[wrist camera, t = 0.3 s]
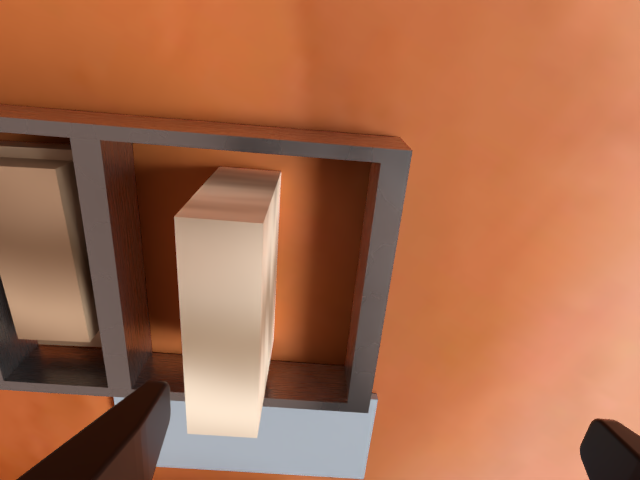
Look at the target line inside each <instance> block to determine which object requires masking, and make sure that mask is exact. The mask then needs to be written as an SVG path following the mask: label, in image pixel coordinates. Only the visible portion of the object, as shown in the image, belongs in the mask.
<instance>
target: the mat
mask: <svg viewBox="0 0 640 480" xmlns="http://www.w3.org/2000/svg"><path fill="white" fill-rule="evenodd" d="M123 399H124V397H114V404H115V405H116V404H117V403H119V402H120V401H121V400H123ZM377 401H378V398H377V394H374V393H372V394H371V400H370V406H369V412H368V413H356V412H340V411H325V410H309V409H294V408H279V407H263V406H262V412H261V418H260V424H259V430H258V436H257V438H247V437H231V436H215V435H198V434H187V420H186V404H185V401H170V404H171V416H170V422H169V426H168V429H167V432H166V435H165V439H164V442H163V445H162V448H161V452H160V455H159V458H158V461H157V465H156V467H171V468H188V469H205V470H221V471H238V472H254V473H271V474H288V475H304V476H321V477H337V478H354V479H364V475H365V469H366V463H367V458H368V452H369V446H370V441H371V435H372V429H373V424H374V418H375V412H376V407H377Z"/></svg>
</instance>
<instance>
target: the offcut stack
mask: <svg viewBox="0 0 640 480" xmlns="http://www.w3.org/2000/svg"><path fill="white" fill-rule="evenodd" d="M0 276H1V279H2V283H3V287H4V290H5V294H6V297H7V301H8V304H9V308H10V311H11V315H12V318H13V322H14V326H15V329H16V333H17V336H18V339H29V340H38V344H42V345H64V346H86V347H102V344H101V337H100V331H99V324H98V318H97V311H96V305H95V298H94V292H93V285H92V279H91V272H90V266H89V259H88V253H87V246H86V240H85V233H84V227H83V220H82V214H81V207H80V201H79V194H78V188H77V181H76V175H75V168H74V162H73V155H72V149H71V144H58V143H40V142H22V141H0Z"/></svg>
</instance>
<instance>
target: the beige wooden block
mask: <svg viewBox="0 0 640 480" xmlns="http://www.w3.org/2000/svg"><path fill="white" fill-rule="evenodd" d="M280 186H281V171H270V170H258V169H245V168H232V167H220V166H219V167H218V169H217V170H216V171H215V172H214V173H213V174H212V175H211V176H210V177H209V179H208V180H207V181H206V182H205V183H204V184H203V185H202V186H201V187H200V188H199V190H198V191H197V192H196V193H195V194H194V195H193V196H192V197H191V198H190V200H189V201H188V202H187V203H186V204H185V205H184V206H183V207H182V208H181V210H180V211H179V212H178V213H177V214H176V215H175V216H174V225H175V242H176V258H177V274H178V290H179V307H180V323H181V339H182V355H183V372H184V388H185V404H186V420H187V434H198V435H215V436H231V437H247V438H257V436H258V430H259V424H260V418H261V412H262V406H263V400H264V394H265V388H266V382H267V376H268V370H269V364H270V358H271V352H272V346H273V341H274V321H275V298H276V276H277V254H278V231H279V209H280Z"/></svg>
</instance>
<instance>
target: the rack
mask: <svg viewBox="0 0 640 480" xmlns="http://www.w3.org/2000/svg"><path fill="white" fill-rule="evenodd" d="M0 132H6V133H18V134H30V135H43V136H55V137H67V138H70V142H71V149H72V155H73V162H74V168H75V175H76V181H77V188H78V194H79V201H80V207H81V214H82V220H83V227H84V233H85V240H86V246H87V253H88V259H89V266H90V272H91V279H92V285H93V292H94V298H95V305H96V311H97V318H98V324H99V331H100V337H101V344H102V349H92V348H77V347H63V346H48V345H39V344H38V340H29V339H18V336H17V333H16V329H15V326H14V322H13V318H12V315H11V311H10V308H9V304H8V301H7V297H6V294H5V290H4V287H3V283H2V279H1V276H0V390H15V391H31V392H46V393H62V394H77V395H93V396H108V397H124V398H125V397H127V396H128V395H129V394H131V393H132V392H133V391H135V390H136V389H137V388H139V387H140V386H141V385H143V384H144V383H145V382H147V381H150V380H154V381H165V382H167V383H169V386H170V401H185V388H184V372H183V355H181V354H166V353H152V344H151V334H150V324H149V313H148V303H147V293H146V282H145V272H144V261H143V251H142V241H141V230H140V220H139V210H138V199H137V189H136V178H135V168H134V158H133V147H132V143H141V144H154V145H166V146H178V147H191V148H203V149H216V150H228V151H240V152H253V153H265V154H277V155H290V156H302V157H314V158H327V159H339V160H351V161H364V162H371V167H370V175H369V182H368V190H367V198H366V205H365V213H364V221H363V228H362V236H361V244H360V251H359V259H358V267H357V275H356V282H355V290H354V298H353V305H352V313H351V321H350V328H349V336H348V344H347V351H346V359H345V366H344V365H329V364H314V363H299V362H284V361H270V364H269V370H268V376H267V382H266V388H265V394H264V400H263V407H279V408H294V409H309V410H325V411H340V412H356V413H368V412H369V406H370V400H371V394H372V388H373V382H374V377H375V371H376V365H377V359H378V353H379V347H380V341H381V335H382V329H383V323H384V317H385V311H386V305H387V299H388V293H389V287H390V281H391V275H392V269H393V263H394V257H395V251H396V245H397V239H398V233H399V227H400V221H401V216H402V210H403V204H404V198H405V192H406V186H407V180H408V174H409V168H410V162H411V156H412V150H411V149H410V148H409V147H408V145H407V144H406V143H405V142H404V141H403V140H402V139H401V138H400V137H390V136H378V135H366V134H354V133H342V132H330V131H318V130H305V129H293V128H281V127H269V126H257V125H245V124H233V123H221V122H209V121H197V120H185V119H173V118H160V117H148V116H136V115H124V114H112V113H100V112H88V111H76V110H64V109H52V108H40V107H28V106H16V105H3V104H0Z"/></svg>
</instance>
